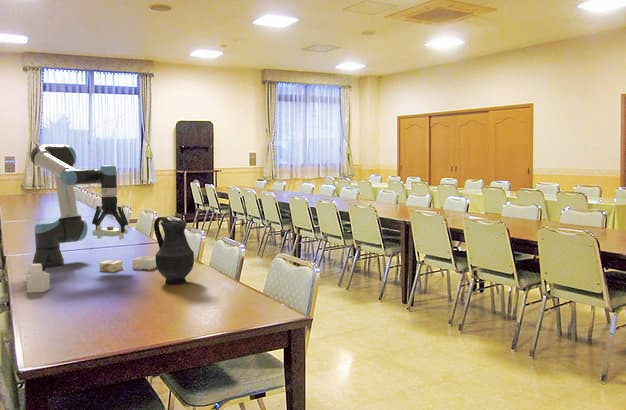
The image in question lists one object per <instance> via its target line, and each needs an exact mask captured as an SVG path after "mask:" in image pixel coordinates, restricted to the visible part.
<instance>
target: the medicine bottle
mask: <svg viewBox="0 0 626 410" xmlns="http://www.w3.org/2000/svg"><path fill="white" fill-rule="evenodd" d="M25 281H26V293H31V294H32V293H45V292H46V291H48V290H50V289H51V286H50V284H51V283H50V282H51V281H50V272H46V267H45V264H44V263H33V262H32V263H31V264H30V265H29V274H28V275H26V277H25Z"/></svg>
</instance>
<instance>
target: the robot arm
mask: <svg viewBox="0 0 626 410" xmlns="http://www.w3.org/2000/svg"><path fill="white" fill-rule="evenodd" d="M76 153H77V152H76V151H75V150H74V148H73V147H72V146H71V145H68V144H63V143H61V144H39V145H37V146H35V147H34V148H32V150H31V152H30V155H29V156H30V157H29V159H30V161H31V163H32V164H33V165H34V166H36V167H37V168H39V169H44V170H47V171H48V172H49V173H51V174H53V175H54V180H55V186H56V192H57V199H58V206H59V212H60V217H59V218H58V219H46V220H41V221H39V222H37V223H36V224H35V225H34V239H35V240H34V241H35V242H34V243H35V251H34V252H35V253H34V255H33V258H32V259H33V260H32V264H33V263H44V264H45V268H49V267H50V268H51V267H52V268H53V267H56V266H61V265H64V264H65V259H64V257H63V254H62V251H61V247H60V246H61V245H60V244H65V243H67V244H68V243H76V242H81V241H83V240H84V239H86V237H87V234H88V223H87V222H86V220H85V219H82V216H81V214H79V213H78V207H77V201H76V195H75V189H74V186H75V185H97V184H98V185H100V189H101V191H100V193H101V194H100V195H101V199H100V200H101V205H96V206H95V208H96V209H95V212H94V216H93V218H92V221H91V225H94V226H95V230H98V229H103V228H102V225H101V224H102V222H103V221H104V219H105V217H106V216H107V215H110V216H113V217H114V218H115V220H116V221H117V223H118V225H119V227H118V228H119V240H120V241H121V240H124V238H125V237H124V236H125V234H124V232H125V228H126V227H125V226H128V225H129V222H128V219H127V217H126V214H125V211H124V207H123V206H122V205H121V206H118V186H117V185H118V183H117V182H118V173H117V166H116V165H100V168H86V169H85V168H84V169H83V168H82V169H81V168H80V169H79V168H78V169H77V168H75V167H74V166H75V164H76V162H77V154H76ZM102 237H103V236H96V238H97V239H102Z"/></svg>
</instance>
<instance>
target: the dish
mask: <svg viewBox="0 0 626 410" xmlns="http://www.w3.org/2000/svg"><path fill="white" fill-rule="evenodd" d="M131 261H132V262H131V263H132V270H142V269H148V270H147V271H151V270H153V268H154V269H156V268H155V267H157V266H156V256H153V255H142V256H138V257H136V258H135V257H134V258H133V259H131ZM150 269H151V270H150Z"/></svg>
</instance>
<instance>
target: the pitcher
mask: <svg viewBox="0 0 626 410" xmlns="http://www.w3.org/2000/svg"><path fill="white" fill-rule="evenodd" d="M160 225H161V227H162V230H163V233H164V234H163V235H164V237H163V236H162V233H161V229H160ZM187 225H188V223H187V220H180V219H179V220H176V219H175V220H171V219H169V218H167V217H166V216H158V217H156V219H155V220H154V223H153V230H154V234H155V238H156V241H157V244H158V247H159V249H158V251H157V252H156V253H155V257H156V266H157V268H156V269H157V271H158V272H159V274H160V275H161V276H162V277H163V278H165V282H164V284H166V285H169V284H170V285H173V286H174V285H175V286H176V285H183V284H186V283H187V279H186V277H187V276H188V275H189V274H190V273H191V272H192V270H193V267H194V265H195V252H194V250H193V249H192V248H191V247H190V245H189V243H188V242H189V241H188V240H187V236H186V234H185V230H186V227H187ZM170 285H169V286H170Z"/></svg>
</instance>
